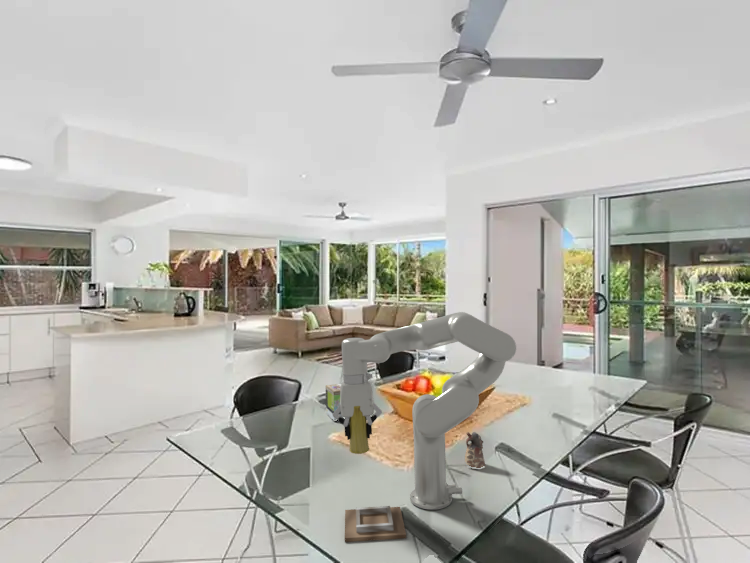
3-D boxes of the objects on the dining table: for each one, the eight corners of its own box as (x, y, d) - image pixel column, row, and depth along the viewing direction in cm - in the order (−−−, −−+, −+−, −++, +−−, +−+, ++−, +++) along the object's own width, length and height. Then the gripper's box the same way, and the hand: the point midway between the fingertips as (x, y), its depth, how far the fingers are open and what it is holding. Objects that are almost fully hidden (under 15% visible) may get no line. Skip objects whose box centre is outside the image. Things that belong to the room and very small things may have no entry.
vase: (358, 445, 139) (356, 400, 139) (373, 448, 135) (371, 402, 135) (345, 451, 134) (342, 404, 134) (360, 455, 130) (357, 407, 130)
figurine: (485, 470, 153) (484, 436, 153) (464, 469, 154) (464, 435, 154) (484, 462, 160) (484, 429, 160) (464, 461, 161) (464, 428, 161)
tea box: (353, 419, 213) (352, 389, 213) (333, 422, 209) (332, 391, 209) (344, 411, 227) (343, 382, 227) (325, 413, 223) (324, 384, 223)
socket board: (400, 510, 129) (399, 501, 129) (406, 538, 115) (405, 528, 115) (345, 513, 128) (345, 504, 128) (344, 542, 114) (344, 532, 114)
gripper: (382, 374, 139) (385, 431, 139) (328, 377, 138) (331, 435, 138) (384, 379, 131) (387, 440, 131) (326, 383, 130) (330, 444, 130)
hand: (358, 437), depth 135 cm, fingers closed on vase, 5 cm apart
